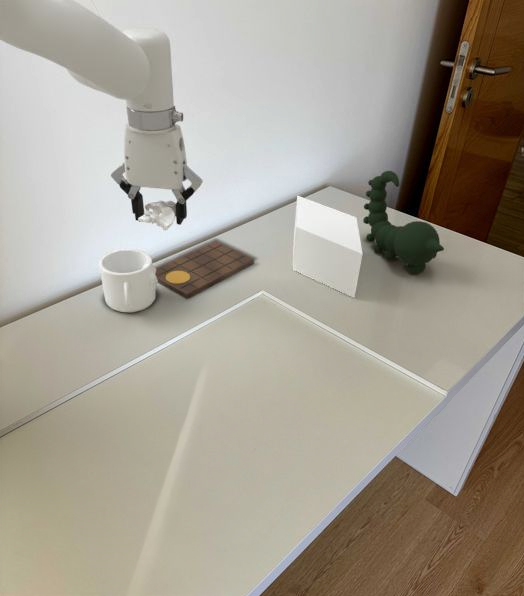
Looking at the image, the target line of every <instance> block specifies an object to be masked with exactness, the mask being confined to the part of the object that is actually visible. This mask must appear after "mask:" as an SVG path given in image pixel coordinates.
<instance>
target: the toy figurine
mask: <svg viewBox="0 0 524 596" xmlns="http://www.w3.org/2000/svg"><path fill="white" fill-rule="evenodd" d="M390 182H392V183H393V184H394V186H395V187H397V188H398V187H400V179H399V176H398V175H397V174H396V173H395V172H394V171H392V170H386V171H383V172H381V174H380V175H377V176H375V177H373V178H372V179H368V182H367V184H368V186H370V190H367V191H366V192H365V196H366V197H367V198H369V200H370V201H369V202H368V203H367V202H366V203H365V204H363V209H364V210H367V211H368V215H367V216H365V217H364V218H363V220H362V221H363V223H364V224H366V225H369V226H370V227H371V228H370V233H367V234H366V237H365V239H366V241H367V242H369V243H372V242H374V241H375V244H376V245H375V246H374V248H373V250H374V253H376V254H378V255H380V254H382V253H383V252H384V254H383V255H384V259H385V260H386V261H388V262H391V261H395V260H396V259H397V258H398V259H399V260H400V261H401V262H403V263H404V264H405V265H406V271H407V272H408V273H409V274H413V275H416V274H420V273H422V272H424V271H425V270H426V264H428V263H430V262H431V261H432V260H433V259H436V258H437V255H438V253H439V252H443V251H444V250H445V248H444V246H442V245H441V243H440V241H441V240H440V236H439V234H438V231H437V230H436V228H435V227H434V226H433V225H432V224H430V223H429V222H426V221H420V220H415V221H411V222H409V223H406V224H404V225H402V226H401V225H399V226H396V225H394V224H392V223H391V222H390V221H389V215H388V213H387V208H388V205H387V201H386V198H387V197H388V193H387V190H386V188H387V184H388V183H390Z"/></svg>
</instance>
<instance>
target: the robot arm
mask: <svg viewBox="0 0 524 596" xmlns="http://www.w3.org/2000/svg"><path fill="white" fill-rule="evenodd" d="M0 41H2V42H4V43H5V44H8V45H9V46H12V47H14V48H16V49H20V50H22V51H25V52H27V53H31V54H34V55H36V56H39V57H41V58H43V59H46V60H48V61H49V62H50V61H51V62H52V63H54V64H56V65H59V66H60V67H63V68H64V69H66V70H67V72H68V74H69V75H70V76H71V77H72V78H73V79H74V80H75V81H76V82H78V83H79V84H81V85H83V86H85V87H86V88H87V87H88V88H90V89H92V90H95V91H98V92H101V93H103V94H106V95H108V96H111V97H113V98H115V99H119V100H124V101H125V106H126V114H127V123H126V124H125V126H124V135H123V163H121V165H119V166H118V167H116V169H115V170H114V171H112V173H110V177H111V178H112V179H113V181H114V182H115V183H116V184H117V185H119V188H120V189H121V190H122V191H123V192H124V193H125V194H126V195H127V197H128V199H130V202H131V208H132V209H131V211H132V214H133V215H134V217H135V221H137V222H139V221H138V218H139V217H141V216H145V214H144V211H145V203H144V197H143V194H142V193H140V191H141V188H150V189H158V190H159V189H160V190H171V192H172V194H173V195H174V197H175V199H176V202H175V203H176V205H175V208H176V216H175V220H176V224H177V225H179V226H181V225H182V224H183V221H184V220H186V219H187V217H188V208H187V201H188V200H189V199H190V198H191V197H192V196H193V194H195V193H196V192H197V190H198V189H199V188H200V187H201V186H202V184H203V183H204V182H203V179H202V178H201V177H200V176H199V175H198V174H197V173H195V171H193V170H192V169H191V168H190V167H189V166H188V162H187V152H186V147H185V141H184V136H183V132H182V128H181V125H180V124H178V122H183V121H184V113H183V112H179V111H177V109H176V105H175V102H174V101H175V100H174V86H173V70H172V68H173V67H172V52H171V42H170V38H169V36H168V34H167V33H166V32H165V31H162V30H160V29H157V28H148V27H137V28H134V27H133V28H128V29H125V30H123V31H121V30H119V29H118V28H116V27H115V26H114V25H112V24H111V23H109V22H108V21H107V20H105V19H104V18H103V17H101V16H100V15H98V14H96V13H95V12H93V11H92V10H90V9H88V7H85V6H83V5H82V4H80V3H78V2H77V1H75V0H0ZM176 123H177V124H176ZM124 174H125V176H124ZM187 180H188V181H189V182H190V183H191V184H190V185H189V186H188V187H187V188H185V186H184V184H183V182H185V181H187Z"/></svg>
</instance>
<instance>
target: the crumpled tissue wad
mask: <svg viewBox="0 0 524 596" xmlns="http://www.w3.org/2000/svg"><path fill="white" fill-rule="evenodd" d="M176 203H177V202H175V201H174V200H168V201H164V200H158V201H156V200H152V201H150V202H149V201H148V202H145V203H144V209H145V210H144V215H143V216H141V217H139V218H138V221H137V222H138V223H147V224H151V225H153V224H156V226H157V227H160V228H162V230H163V231H168V230H169V228H170V227H171V226H172V225H173V224H174V223H175V222H174V221H175V220H176V208H175V205H176ZM151 210H152V211H151Z"/></svg>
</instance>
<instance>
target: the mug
mask: <svg viewBox="0 0 524 596" xmlns="http://www.w3.org/2000/svg"><path fill="white" fill-rule="evenodd" d="M98 267H99V273H100V279H101V285H102V291H103V296H104V300H105V303H106V305H107V306H108V307H109V308H111V309H112V310H114V311H117V312H121V313H137V312H140V311H143V310H145V309H147V308H149V307H150V306H151V305H152V304H153V303H154V302H155V300H156V290H157V286H156V285H157V284H158V280H157V277H156V275H155V273H156V268H157V267H155V265H154V264H153V258H152V256H151V255H150V254H149V253H147V252H146V251H143V250H140V249H135V248H121V249H116V250H112V251H110V252H107V253H106V254H104V255H103V256H102V257H100V259H99V262H98Z"/></svg>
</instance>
